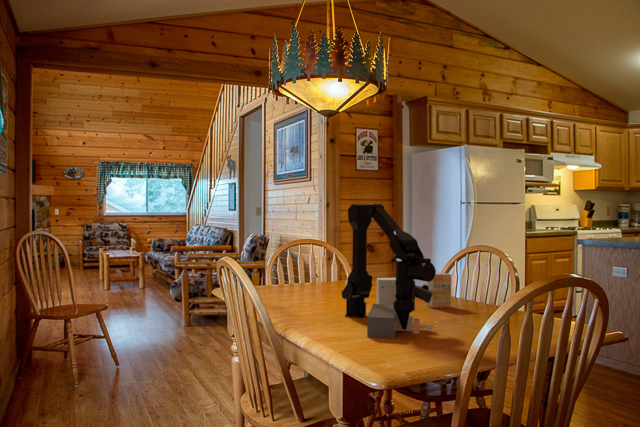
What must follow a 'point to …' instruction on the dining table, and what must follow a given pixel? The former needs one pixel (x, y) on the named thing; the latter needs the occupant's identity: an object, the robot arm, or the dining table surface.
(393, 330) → the grey block
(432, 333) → the dining table surface
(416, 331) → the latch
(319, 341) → the dining table surface
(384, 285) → the small box
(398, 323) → the plug
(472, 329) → the dining table surface
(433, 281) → the supplement box
